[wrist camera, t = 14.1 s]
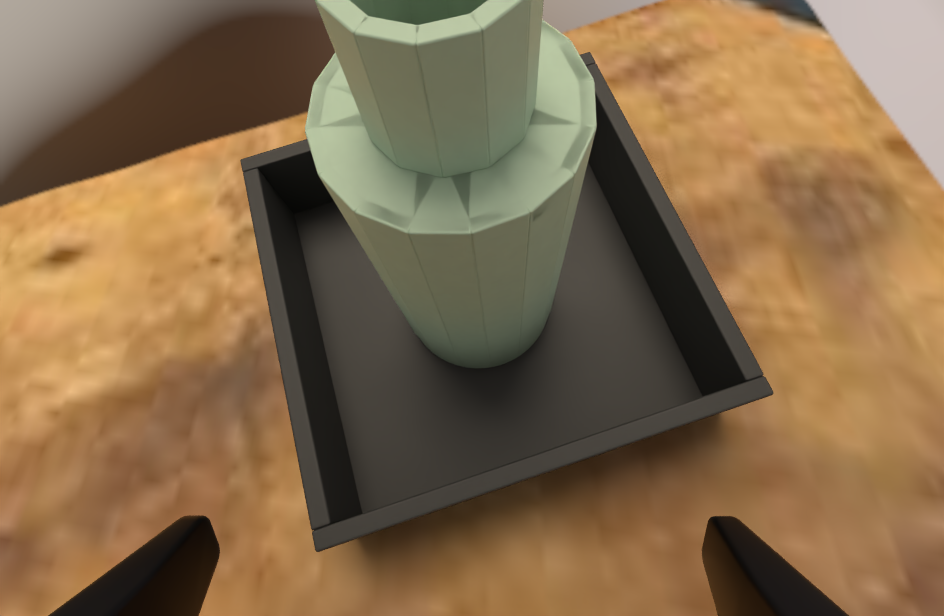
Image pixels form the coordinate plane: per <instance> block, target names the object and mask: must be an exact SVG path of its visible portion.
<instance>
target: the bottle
mask: <svg viewBox="0 0 944 616" xmlns="http://www.w3.org/2000/svg"><path fill="white" fill-rule="evenodd" d="M315 2H316V4H317V7H318V9H319V12H320V14H321V17H322V20H323V22H324V25H325V27H326V30H327V32H328V35H329V37H330V40H331V42H332V45H333V47H334V50H335V54H334V55H333V57H332V58H331V60H330V61H329V63H328V64H327V65H326V67H325V68H324V70H323V71H322V73H321V74H320V76H319V77H318V79H317V80H316V81H315V83H314V85H313V89H312V95H311V100H310V105H309V110H308V116H307V121H306V126H305V133H306V137H307V140H308V143H309V147H310V150H311V153H312V157H313V160H314V163H315V166H316V170H317V173H318V175H319V177H320V179H321V180H322V182H323V184H324V185H325V187H326V189H327V190H328V192H329V193H330V195H331V197H332V198H333V200H334V202H335V203H336V205H337V207H338V208H339V210H340V211H341V213H342V215H343V216H344V218H345V220H346V221H347V223H348V225H349V226H350V228H351V230H352V231H353V233H354V234H355V236H356V238H357V239H358V241H359V243H360V244H361V246H362V248H363V249H364V251H365V252H366V254H367V256H368V257H369V259H370V261H371V262H372V264H373V266H374V267H375V269H376V270H377V272H378V274H379V275H380V277H381V279H382V280H383V282H384V284H385V285H386V287H387V288H388V290H389V292H390V293H391V295H392V297H393V298H394V300H395V302H396V303H397V305H398V306H399V308H400V310H401V311H402V313H403V315H404V316H405V318H406V320H407V321H408V323H409V324H410V326H411V328H412V329H413V331H414V333H415V334H416V335H417V336H418V337H419V338H420V340H421V341H422V342H423V343H424V345H425V346H426V347H427V348H428V349H429V350H430V351H431V352H432V353H434V354H435V355H437V356H438V357H439V358H441V359H443V360H445V361H447V362H449V363H452V364H454V365H457V366H462V367H466V368H489V367H495V366H498V365H502V364H505V363H507V362H509V361H512V360H514V359H515V358H517V357H518V356H520V355H522V354H523V353H524V352H525V351H527V350H528V349H529V348H530V347H531V346H532V345H533V344H534V343H535V341H536V340H537V339H538V337H539V336H540V334H541V332H542V330H543V329H544V327H545V324H546V321H547V318H548V316H549V314H550V311H551V308H552V304H553V300H554V296H555V292H556V288H557V284H558V280H559V276H560V272H561V268H562V264H563V260H564V256H565V252H566V248H567V244H568V240H569V236H570V232H571V228H572V224H573V220H574V216H575V212H576V208H577V204H578V200H579V196H580V192H581V188H582V184H583V180H584V176H585V172H586V168H587V164H588V160H589V156H590V152H591V148H592V144H593V140H594V136H595V132H596V127H597V122H596V101H595V82H594V79H593V77H592V76H591V74H590V72H589V70H588V69H587V67H586V65H585V64H584V62H583V60H582V58H581V57H580V55H579V53H578V52H577V50H576V48H575V46H574V45H573V43H572V41H570V39H569V38H567V37H566V36H565V35H563V34H562V33H560V32H559V31H558V30H556V29H555V28H553V27H552V26H551V25H549V24H548V23H546V22H545V21H544V20H542V14H543V0H315Z"/></svg>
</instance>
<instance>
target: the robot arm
mask: <svg viewBox="0 0 944 616" xmlns="http://www.w3.org/2000/svg"><path fill="white" fill-rule="evenodd" d="M219 554H220V548H219V543H218V541H217V538H216V535H215V533H214V530H213V527H212V525H211V522H210V520H209V519H208V518H207V517H206V516H184V517H182V518H180V519H178V520H177V521H176V522H174V523H173V524H172V525H170V526H169V527H167V528H166V529H165V530H163V531H162V532H161V533H159V534H158V535H157V536H155V537H154V538H153V539H151V540H150V541H149V542H147V543H146V544H144V545H143V546H142V547H140V548H139V549H138V550H136V551H135V552H134V553H132V554H131V555H130V556H128V557H127V558H126V559H124V560H123V561H122V562H120V563H119V564H117V565H116V566H115V567H113V568H112V569H111V570H109V571H108V572H107V573H105V574H104V575H103V576H101V577H100V578H99V579H97V580H96V581H94V582H93V583H92V584H90V585H89V586H88V587H86V588H85V589H84V590H82V591H81V592H80V593H78V594H77V595H76V596H74V597H73V598H71V599H70V600H69V601H67V602H66V603H65V604H63V605H62V606H61V607H59V608H58V609H57V610H55V611H54V612H53V613H51V614H50V615H48V616H198V615H199V613H200V610H201V607H202V604H203V601H204V599H205V596H206V593H207V590H208V588H209V585H210V582H211V579H212V576H213V574H214V571H215V568H216V565H217V562H218V559H219ZM702 558H703V563H704V567H705V571H706V574H707V578H708V581H709V585H710V588H711V592H712V596H713V599H714V603H715V606H716V610H717V613H718V616H849V615H848V614H846V613H845V612H844V611H843V610H842V609H841V608H840V607H838V606H837V605H836V604H835V603H834V602H833V601H832V600H830V599H829V598H828V597H827V596H826V595H825V594H824V593H822V592H821V591H820V590H819V589H818V588H817V587H816V586H814V585H813V584H812V583H811V582H810V581H809V580H808V579H806V578H805V577H804V576H803V575H802V574H801V573H799V572H798V571H797V570H796V569H795V568H794V567H793V566H791V565H790V564H789V563H788V562H787V561H786V560H785V559H783V558H782V557H781V556H780V555H779V554H778V553H777V552H775V551H774V550H773V549H772V548H771V547H770V546H769V545H767V544H766V543H765V542H764V541H763V540H762V539H761V538H759V537H758V536H757V535H756V534H755V533H754V532H753V531H751V530H750V529H749V528H748V527H747V526H746V525H745V524H743V523H742V522H741V521H740V520H739V519H737V518H735V517H731V516H713V517H711V518H710V519H709V521H708V524H707V528H706V533H705V538H704V542H703V547H702Z"/></svg>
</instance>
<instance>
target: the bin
mask: <svg viewBox="0 0 944 616" xmlns="http://www.w3.org/2000/svg"><path fill="white" fill-rule="evenodd" d="M580 57H581V58H582V60H583V62H584V64H585V65H586V67H587V69H588V70H589V72H590V74H591V76H592V77H593V79H594V82H595V101H596V122H597V127H596V132H595V136H594V140H593V144H592V148H591V152H590V156H589V160H588V164H587V168H586V172H585V176H584V180H583V184H582V188H581V192H580V196H579V200H578V204H577V208H576V212H575V216H574V220H573V224H572V228H571V232H570V236H569V240H568V244H567V248H566V252H565V256H564V260H563V264H562V268H561V272H560V276H559V280H558V284H557V288H556V292H555V296H554V300H553V304H552V308H551V311H550V314H549V316H548V318H547V321H546V324H545V327H544V329H543V330H542V332H541V334H540V336H539V337H538V339H537V340H536V341H535V343H534V344H533V345H532V346H531V347H530V348H529V349H528V350H527V351H525V352H524V353H523V354H522V355H520V356H518V357H517V358H515V359H514V360H512V361H509V362H507V363H505V364H502V365H498V366H495V367H489V368H466V367H462V366H457V365H454V364H452V363H449V362H447V361H445V360H443V359H441V358H439V357H438V356H437V355H435V354H434V353H432V352H431V351H430V350H429V349H428V348H427V347H426V346H425V345H424V343H423V342H422V341H421V340H420V338H419V337H418V336H417V335H416V334H415V333H414V331H413V329H412V328H411V326H410V324H409V323H408V321H407V320H406V318H405V316H404V315H403V313H402V311H401V310H400V308H399V306H398V305H397V303H396V302H395V300H394V298H393V297H392V295H391V293H390V292H389V290H388V288H387V287H386V285H385V284H384V282H383V280H382V279H381V277H380V275H379V274H378V272H377V270H376V269H375V267H374V266H373V264H372V262H371V261H370V259H369V257H368V256H367V254H366V252H365V251H364V249H363V248H362V246H361V244H360V243H359V241H358V239H357V238H356V236H355V234H354V233H353V231H352V230H351V228H350V226H349V225H348V223H347V221H346V220H345V218H344V216H343V215H342V213H341V211H340V210H339V208H338V207H337V205H336V203H335V202H334V200H333V198H332V197H331V195H330V193H329V192H328V190H327V189H326V187H325V185H324V184H323V182H322V180H321V179H320V177H319V175H318V173H317V170H316V166H315V163H314V160H313V157H312V153H311V150H310V147H309V143H308V140H307V139H306V140H303V141H299V142H296V143H293V144H290V145H286V146H283V147H280V148H277V149H273V150H270V151H267V152H264V153H260V154H257V155H254V156H251V157H247V158H244V159H241V165H242V171H243V172H244V173H243V175H244V180H245V185H246V191H247V196H248V201H249V206H250V211H251V217H252V222H253V227H254V232H255V237H256V243H257V248H258V253H259V258H260V264H261V269H262V274H263V279H264V284H265V290H266V295H267V300H268V305H269V310H270V316H271V321H272V326H273V331H274V337H275V342H276V347H277V352H278V357H279V363H280V368H281V373H282V378H283V383H284V389H285V394H286V399H287V404H288V410H289V415H290V420H291V425H292V430H293V436H294V441H295V446H296V451H297V457H298V462H299V467H300V472H301V477H302V483H303V488H304V493H305V498H306V503H307V509H308V514H309V519H310V524H311V529H312V530H314V531H313V532H312V535H313V540H314V545H315V550H316V552H320V551H323V550H325V549H328V548H331V547H334V546H337V545H340V544H343V543H346V542H349V541H351V540H354V539H357V538H360V537H363V536H366V535H369V534H372V533H375V532H377V531H380V530H383V529H386V528H389V527H392V526H395V525H398V524H401V523H404V522H406V521H409V520H412V519H415V518H418V517H421V516H424V515H427V514H430V513H432V512H435V511H438V510H441V509H444V508H447V507H450V506H453V505H456V504H458V503H461V502H464V501H467V500H470V499H473V498H476V497H479V496H482V495H484V494H487V493H490V492H493V491H496V490H499V489H502V488H505V487H508V486H510V485H513V484H516V483H519V482H522V481H525V480H528V479H531V478H534V477H536V476H539V475H542V474H545V473H548V472H551V471H554V470H557V469H560V468H562V467H565V466H568V465H571V464H574V463H577V462H580V461H583V460H586V459H588V458H591V457H594V456H597V455H600V454H603V453H606V452H609V451H612V450H615V449H617V448H620V447H623V446H626V445H629V444H632V443H635V442H638V441H641V440H643V439H646V438H649V437H652V436H655V435H658V434H661V433H664V432H667V431H669V430H672V429H675V428H678V427H681V426H684V425H687V424H690V423H693V422H695V421H698V420H701V419H704V418H707V417H710V416H713V415H716V414H719V413H721V412H724V411H727V410H730V409H733V408H736V407H739V406H742V405H745V404H747V403H750V402H753V401H756V400H759V399H762V398H765V397H768V396H771V395H772V394H773V391H772V389H771V387H770V385H769V383H768V381H767V379H766V378H765V377H764V376H763V372H762V370H761V368H760V366H759V364H758V363H757V361H756V359H755V357H754V355H753V353H752V351H751V350H750V348H749V346H748V344H747V342H746V340H745V339H744V337H743V335H742V333H741V331H740V329H739V327H738V326H737V324H736V322H735V320H734V318H733V316H732V314H731V313H730V311H729V309H728V307H727V305H726V303H725V302H724V300H723V298H722V296H721V294H720V292H719V290H718V289H717V287H716V285H715V283H714V281H713V279H712V277H711V276H710V274H709V272H708V270H707V268H706V266H705V264H704V263H703V261H702V259H701V257H700V255H699V253H698V252H697V250H696V248H695V246H694V244H693V242H692V240H691V239H690V237H689V235H688V233H687V231H686V229H685V227H684V226H683V224H682V222H681V220H680V218H679V216H678V214H677V213H676V211H675V209H674V207H673V205H672V203H671V202H670V200H669V198H668V196H667V194H666V192H665V190H664V189H663V187H662V185H661V183H660V181H659V179H658V177H657V176H656V174H655V172H654V170H653V168H652V166H651V164H650V163H649V161H648V159H647V157H646V155H645V153H644V152H643V150H642V148H641V146H640V144H639V142H638V140H637V139H636V137H635V135H634V133H633V131H632V129H631V127H630V126H629V124H628V122H627V120H626V118H625V116H624V114H623V113H622V111H621V109H620V107H619V105H618V103H617V102H616V100H615V98H614V96H613V94H612V92H611V90H610V89H609V87H608V85H607V83H606V81H605V79H604V77H603V76H602V74H601V72H600V70H599V68H598V66H597V64H595V60H594V59H593V57H592V55H591V53H590V52H588V53H585V54H581V55H580Z"/></svg>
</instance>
